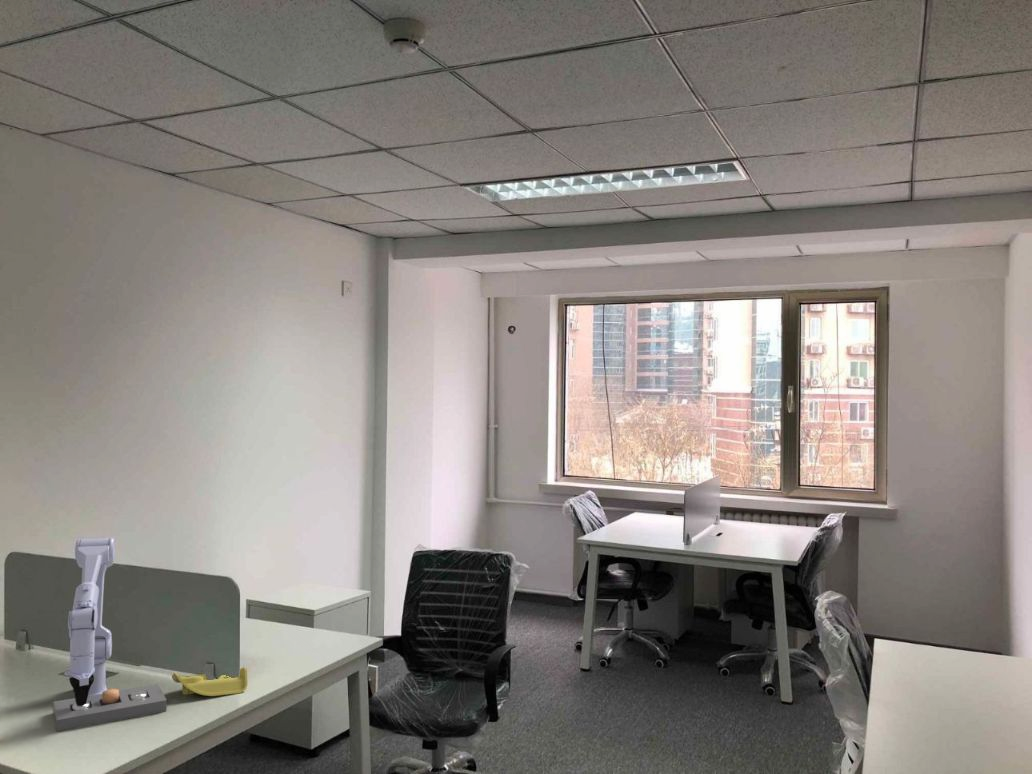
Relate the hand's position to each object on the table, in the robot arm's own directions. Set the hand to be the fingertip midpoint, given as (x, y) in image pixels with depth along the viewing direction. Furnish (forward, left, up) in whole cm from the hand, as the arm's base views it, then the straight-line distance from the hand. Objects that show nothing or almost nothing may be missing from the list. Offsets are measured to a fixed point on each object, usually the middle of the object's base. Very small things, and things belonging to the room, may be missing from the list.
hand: (81, 704), depth 212 cm
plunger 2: (0, +14, -2) cm, 14 cm away
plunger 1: (0, 0, -2) cm, 2 cm away
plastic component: (-3, +33, -4) cm, 34 cm away
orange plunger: (0, +7, 0) cm, 7 cm away
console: (0, +7, -3) cm, 8 cm away
